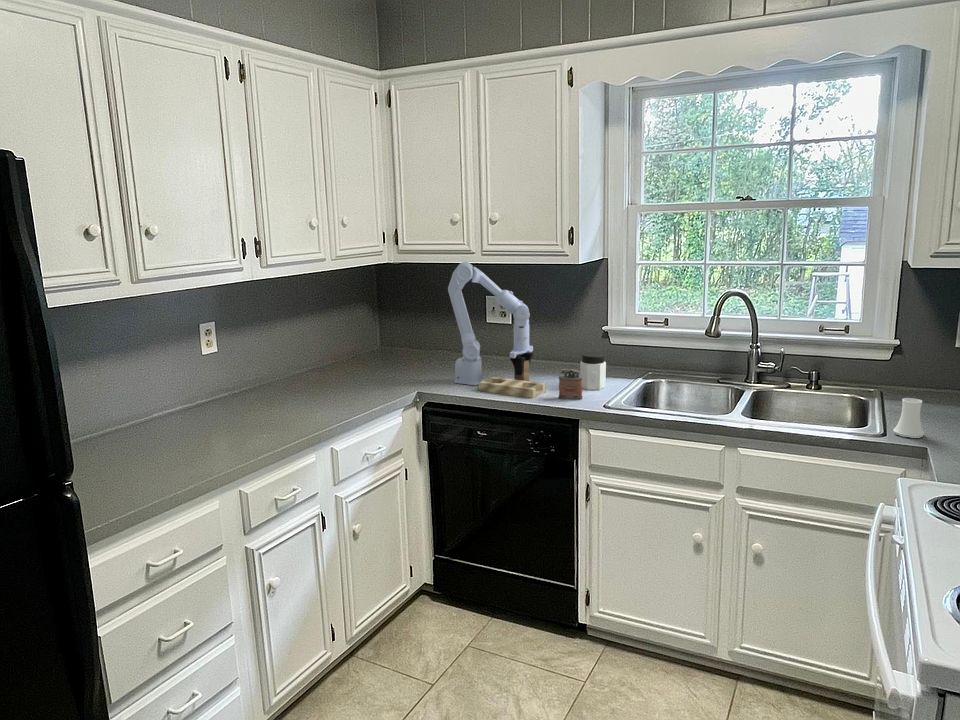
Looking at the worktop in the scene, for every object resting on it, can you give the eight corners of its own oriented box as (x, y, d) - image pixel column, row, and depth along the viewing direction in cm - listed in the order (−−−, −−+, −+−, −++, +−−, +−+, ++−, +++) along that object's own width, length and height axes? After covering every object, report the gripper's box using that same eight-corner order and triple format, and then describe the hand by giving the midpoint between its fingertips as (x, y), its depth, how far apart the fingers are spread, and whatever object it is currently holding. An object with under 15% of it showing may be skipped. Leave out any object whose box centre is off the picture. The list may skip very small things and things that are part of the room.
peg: (514, 382, 270) (514, 361, 269) (519, 380, 274) (519, 359, 272) (524, 383, 268) (523, 362, 267) (529, 381, 272) (529, 360, 270)
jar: (580, 390, 258) (580, 356, 256) (579, 384, 266) (580, 352, 264) (606, 390, 257) (606, 356, 255) (604, 384, 265) (605, 352, 263)
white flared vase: (896, 428, 211) (899, 395, 208) (926, 433, 206) (930, 399, 204) (890, 435, 205) (894, 401, 203) (921, 440, 200) (925, 405, 198)
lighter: (583, 397, 249) (583, 368, 247) (581, 400, 246) (582, 371, 243) (559, 396, 251) (559, 367, 249) (557, 398, 248) (557, 370, 246)
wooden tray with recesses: (478, 390, 260) (478, 382, 259) (492, 384, 268) (492, 376, 267) (533, 398, 249) (533, 389, 249) (545, 391, 257) (545, 383, 256)
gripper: (521, 341, 259) (522, 379, 262) (540, 334, 271) (540, 370, 274) (504, 340, 263) (504, 376, 266) (523, 333, 275) (523, 368, 278)
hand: (521, 373), depth 270 cm, fingers closed on peg, 4 cm apart
